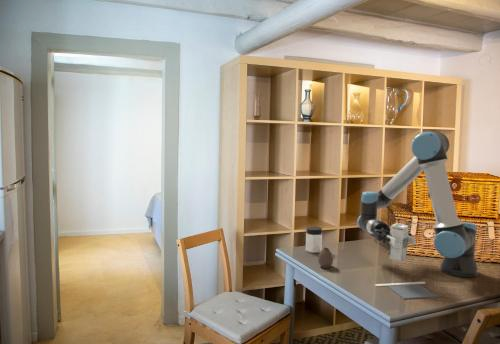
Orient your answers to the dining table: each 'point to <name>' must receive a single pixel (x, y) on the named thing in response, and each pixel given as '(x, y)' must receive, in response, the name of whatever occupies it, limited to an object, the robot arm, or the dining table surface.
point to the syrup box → (398, 242)
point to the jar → (314, 239)
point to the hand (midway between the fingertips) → (404, 242)
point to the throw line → (400, 284)
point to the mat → (411, 291)
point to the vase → (325, 258)
